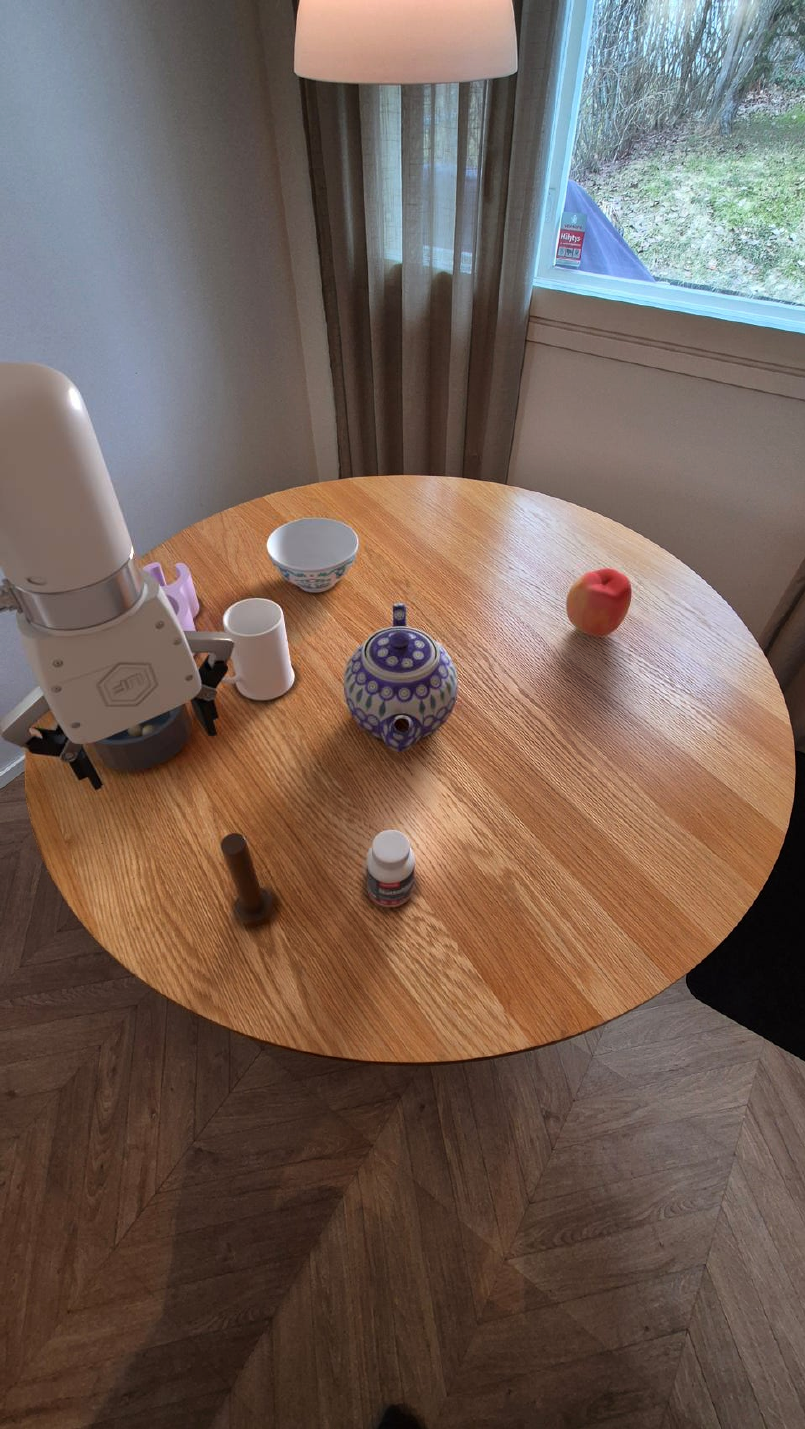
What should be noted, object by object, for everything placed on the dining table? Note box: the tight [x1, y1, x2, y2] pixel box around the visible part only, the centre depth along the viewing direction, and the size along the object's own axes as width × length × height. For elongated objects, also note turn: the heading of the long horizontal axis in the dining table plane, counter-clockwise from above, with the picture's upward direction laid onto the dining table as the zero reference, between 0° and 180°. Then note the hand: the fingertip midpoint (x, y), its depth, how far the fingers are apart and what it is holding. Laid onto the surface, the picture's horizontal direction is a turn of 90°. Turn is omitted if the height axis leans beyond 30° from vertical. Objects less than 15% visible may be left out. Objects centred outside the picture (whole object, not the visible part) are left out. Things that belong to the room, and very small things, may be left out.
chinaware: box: [265, 517, 359, 593], centre depth 111 cm, size 15×15×8 cm
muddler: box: [220, 832, 275, 928], centre depth 68 cm, size 4×4×14 cm
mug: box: [220, 597, 295, 701], centre depth 93 cm, size 12×8×12 cm
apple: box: [565, 567, 633, 638], centre depth 102 cm, size 10×10×10 cm
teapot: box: [343, 602, 459, 753], centre depth 88 cm, size 25×15×15 cm, turn 178°
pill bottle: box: [365, 829, 416, 908], centre depth 72 cm, size 5×5×9 cm
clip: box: [141, 561, 200, 657], centre depth 101 cm, size 20×12×7 cm, turn 178°
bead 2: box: [142, 725, 157, 736], centre depth 89 cm, size 2×2×2 cm
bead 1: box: [127, 724, 143, 738], centre depth 89 cm, size 2×2×2 cm
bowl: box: [86, 702, 194, 772], centre depth 88 cm, size 13×13×6 cm
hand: (152, 750), depth 55 cm, fingers open, 9 cm apart
